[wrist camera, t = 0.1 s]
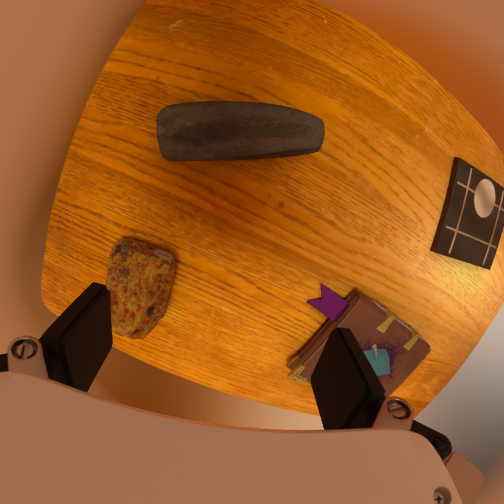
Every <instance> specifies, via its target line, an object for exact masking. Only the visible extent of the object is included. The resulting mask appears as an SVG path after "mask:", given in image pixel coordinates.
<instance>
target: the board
mask: <svg viewBox="0 0 504 504" xmlns="http://www.w3.org/2000/svg"><path fill="white" fill-rule="evenodd" d="M503 227H504V188H503V187H502V186H501V185H499V184H498V183H497V182H495V181H494V180H492V179H491V178H490V177H488V176H487V175H485V174H484V173H482V172H481V171H479V170H478V169H476V168H475V167H473V166H472V165H470V164H469V163H467V162H466V161H464V160H462V159H461V158H458V157H454V162H453V167H452V172H451V177H450V182H449V186H448V191H447V195H446V199H445V203H444V207H443V210H442V214H441V218H440V221H439V224H438V228H437V231H436V234H435V238H434V241H433V244H432V247H431V251H433V252H435V253H438V254H441V255H445V256H448V257H451V258H455V259H458V260H461V261H464V262H467V263H470V264H473V265H477V266H480V267H483V268H486V269H489V270H490V268H491V265H492V262H493V260H494V257H495V254H496V251H497V248H498V244H499V241H500V238H501V234H502V231H503Z"/></svg>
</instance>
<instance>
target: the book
mask: <svg viewBox="0 0 504 504" xmlns="http://www.w3.org/2000/svg"><path fill="white" fill-rule="evenodd" d="M321 292H322V299H318V300H313V301H308V302H307V303H308V304H310V305H311V306H313V307H315V308H316V309H318V310H319V311H320V312H322V313H323V314H325V315H326V316H327V317H329V318H330V320H329V321H328V322H327V323H326V324H325V325H324V327H323V328H322V329H321V330H320V331H319V332H318V334H317V335H316V336H315V337H314V338H313V339H312V340H311V342H310V343H309V344H308V345H307V346H306V347H305V348H304V349H303V350H302V352H301V353H300V354H299V355H297V356H296V357H294V358H293V359H292V360H290V361H289V363H288V364H287V367H288V368H290V369H291V372H290V373H289V374H288V377H289V378H291V379H292V380H294V381H299V382H305V381H307V382H309V383H311V375H312V373H313V371H314V369H315V366H316V364H317V362H318V360H319V358H320V355H321V353H322V351H323V349H324V346H325V344H326V342H327V339H328V337H329V335H330V332H331V331H332V330H335V329H336V328H337V327H340V328H349V329H350V330H351V331H352V333H353V335H354V336H355V338H356V340H357V341H358V343H359V345H360V347H361V348H362V350H363V352H364V354H365V355H366V357H367V359H368V361H369V362H370V364H371V366H372V368H373V369H374V371H375V373H376V375H377V376H378V378H379V380H380V382H381V384H382V386H383V387H384V389H385V391H386V393H385V394H384V395H385V397H386V398H388V397H389V396H390V395H391V394H392V393H393V392H394V391H395V390H396V389H397V388H398V387H399V386H400V385H401V384H402V383H403V382H404V381H405V380H406V378H407V377H408V376H409V375H410V374H411V373H412V372H413V371H414V370H415V369H416V368H417V366H418V365H419V364H420V363H421V362H422V361H423V360H424V358H425V357H426V356H427V355H428V354H429V352H430V345H429V344H428V343H426V342H425V341H424V340H422V338H421V337H420V336H419V335H418V334H417V333H416V332H415V331H414V330H413V329H412V328H411V327H410V326H409V325H405V324H404V323H403V322H401V321H400V320H399V319H397V318H396V317H395V316H394V315H392V314H391V313H390V312H389V311H388V310H387V309H386V308H385V307H384V306H380V305H379V304H378V303H376V302H374V301H373V302H374V303H373V302H372V301H371V300H369V299H368V298H367V297H365V296H364V295H363V294H361V293H360V292H358V291H354V292H351V294H350V295H349V296H348V298H347V299H346V300H344V299H342V298H341V297H340V296H338V295H337V294H336V293H334V292H333V291H332V290H330V289H329V288H327V287H326V286H324V285H323V284H321Z"/></svg>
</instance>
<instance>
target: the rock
mask: <svg viewBox="0 0 504 504" xmlns="http://www.w3.org/2000/svg"><path fill="white" fill-rule="evenodd" d="M107 273H108V275H107V280H106V286H107V289H108V290H110V297H111V323H112V330H113V332H114V333H116V334H118V335H120V336H127V337H131V338H132V339H138V338H139V339H143V338H145V337H146V336H147V335H148V334H149V332H150V331H151V330H152V329H153V328H154V327H155V326H156V325H157V324H158V322H159V320H160V319H161V318H163V317H164V315H165V313H166V309H167V301H168V297H169V294H170V289H171V287H172V282H173V277H174V274H175V259H174V257H173V255H172V254H171V253H170V252H169V251H168V250H166V249H165V250H164V249H158V248H157V247H153V246H151V245H149V244H147V243H146V242H138V241H136V240H135V239H133V238H129V239H121V240H119V241H117V242H116V243H115V245H114V246H113V248H112V251H111V253H110V257H109V266H108V271H107Z"/></svg>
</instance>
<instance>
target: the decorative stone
mask: <svg viewBox="0 0 504 504" xmlns="http://www.w3.org/2000/svg"><path fill="white" fill-rule="evenodd" d="M156 122H157V124H156V126H157V127H156V129H157V138H158V143H159V148H160V151H161V154H162V156H163V157H164V158H165V159H167V160H169V161H203V160H241V159H262V158H274V157H288V156H296V155H302V154H308V153H314V152H318V151H319V150H320V149H321V146H322V143H323V140H324V123H323V121H322V120H321V119H320V118H318V117H316V116H314V115H312V114H309V113H306V112H303V111H300V110H297V109H293V108H290V107H285V106H281V105H275V104H267V103H255V102H230V101H209V102H191V103H182V104H174V105H168V106H166V107H164V108H163V109H162V110H161V111H160V112H159V113H158V115H157V120H156Z"/></svg>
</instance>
